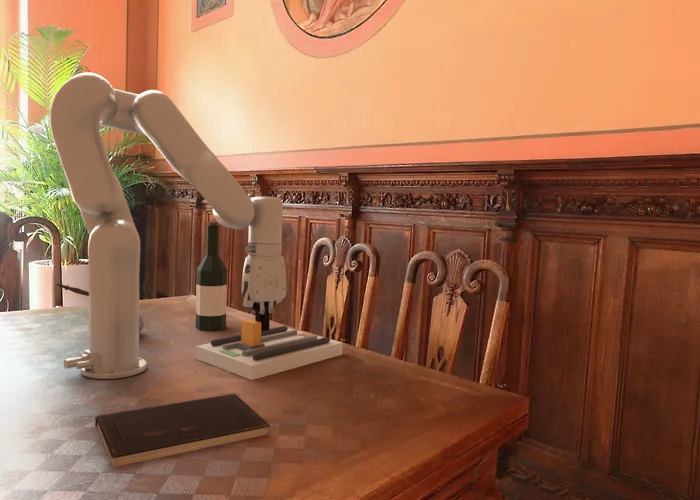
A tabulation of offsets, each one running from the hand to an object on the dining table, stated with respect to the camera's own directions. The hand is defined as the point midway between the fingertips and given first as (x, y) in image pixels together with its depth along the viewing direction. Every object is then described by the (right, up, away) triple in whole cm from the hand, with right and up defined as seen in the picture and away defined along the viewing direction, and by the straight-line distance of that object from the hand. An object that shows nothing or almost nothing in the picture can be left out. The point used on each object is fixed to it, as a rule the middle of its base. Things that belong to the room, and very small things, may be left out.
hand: (262, 329), depth 124 cm
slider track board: (+2, -7, +3) cm, 8 cm away
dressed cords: (+2, -4, +3) cm, 5 cm away
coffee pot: (-43, -4, +12) cm, 45 cm away
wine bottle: (-19, -4, +29) cm, 35 cm away
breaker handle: (-2, -4, -2) cm, 5 cm away
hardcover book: (-6, -11, -39) cm, 41 cm away
